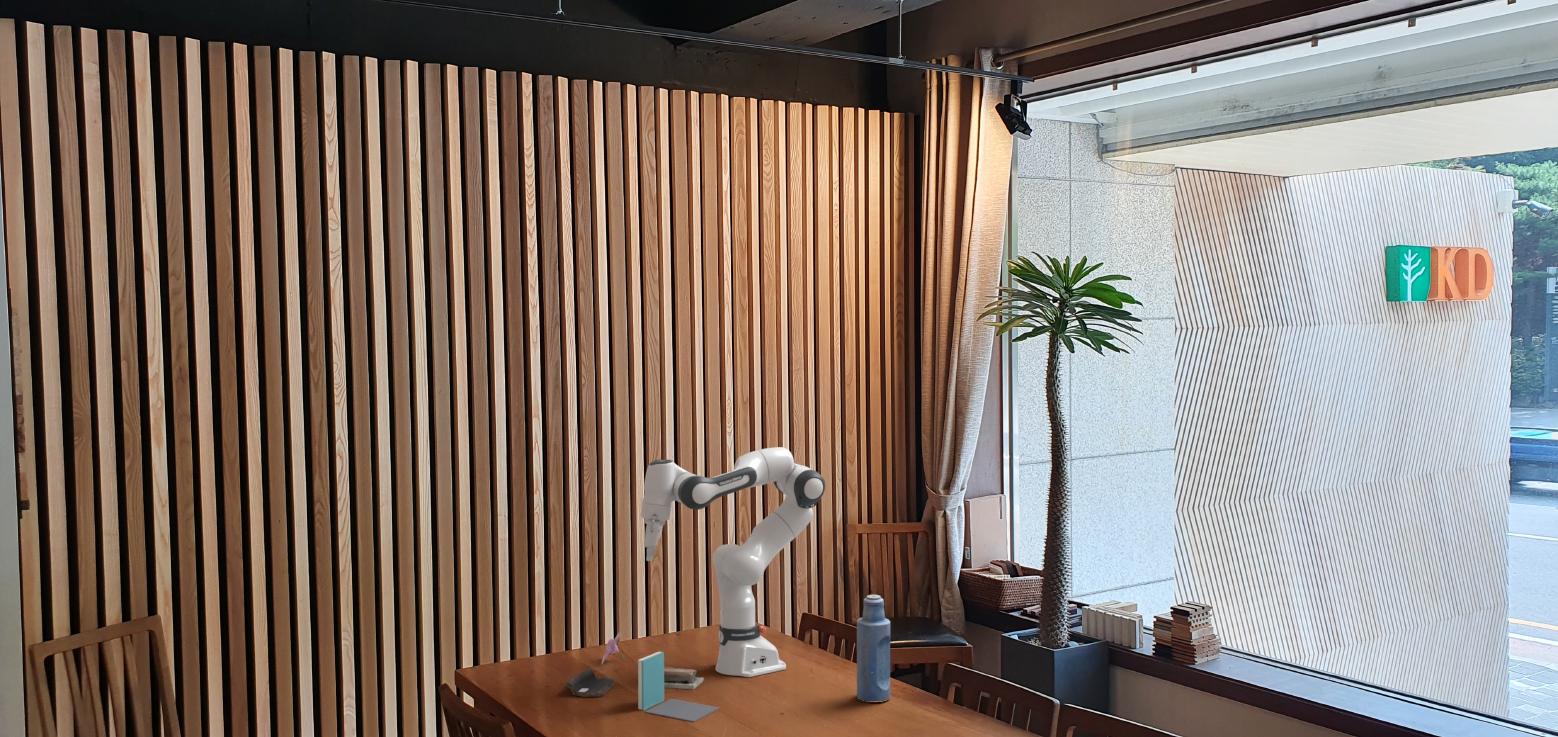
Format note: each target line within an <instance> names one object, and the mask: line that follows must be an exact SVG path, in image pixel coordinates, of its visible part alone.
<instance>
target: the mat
mask: <svg viewBox="0 0 1558 737" xmlns="http://www.w3.org/2000/svg"><path fill="white" fill-rule="evenodd" d="M720 709H721V708H720V707H718V706H713V705H707V704H702V703H697V702H691V701H686V700H681V699H676V698H670V699H668V700H666V701H663V702H661V703H659V704H657V705H656V706H652V707H650V708H648V709H646V710H644V713H646V714H650V715H656V716H661V717H666V718H671V719H676V720H682V721H685V722H686V721H687V722H690V723H695V722H697V721H699V720H701V719H703V718H704V717H707V716H709V715H710V714H713V713H714V712H716V711H718V710H720Z"/></svg>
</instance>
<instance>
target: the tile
mask: <svg viewBox="0 0 1558 737" xmlns="http://www.w3.org/2000/svg"><path fill="white" fill-rule="evenodd" d="M637 665H638V666H637V668H638V669H637V672H638V673H637V675H638V676H637V681H638V683H637V685H638V686H637V689H638V691H637V693H638V694H637V695H638V697H637V698H638V699H637V701H638V702H637V703H638V705H637V706H638V710H640V711H646V710H648V709H650V708H653V707H655V705H656V706H657V705H659V704H661V703H663V702H665V688H664V667H665V652H664V651H657V652H654V653H652V654H650V655H649V654H648V655H647V656H644V657H641V658H640V659H638V660H637Z"/></svg>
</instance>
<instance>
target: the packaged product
mask: <svg viewBox="0 0 1558 737" xmlns="http://www.w3.org/2000/svg"><path fill="white" fill-rule="evenodd" d="M697 673H698V672H697V670H696V669H688V668H679V667H669V666H667V667H666V666H664V689H676V688H678V690H692V689H694V690H695V689H696V688H697V687H699V686H700V685H701V684H702V683H703V681H704V680H705V677H704V676H703V677H698V676H696V675H697Z"/></svg>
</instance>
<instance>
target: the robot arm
mask: <svg viewBox="0 0 1558 737" xmlns="http://www.w3.org/2000/svg"><path fill="white" fill-rule="evenodd" d="M771 483H773V484H774V487H775V488H776V489H777V490H778V491H779V492H780V493H782V494H783V495H785V496H784V497H785V498H784V499H783V501H782V503H781V504H780V506H778V507H777V508H776V509H775V510H773V511H772V512H771V513H770V514H769V515H767V516H766V517H765V518H764V519H762V520H761V521H760V522H759V523H758V524H757V525H755V526H754V528H753V529H752V532H751V534H750V536H749V537H748V538H747V540H746V541H745V542H744V543H743V544H742V545H738V544H735V543H727V544H722V545H720V546H719V547H717V548H716V550H715V551H714V553H713V555H712V564H713V568H714V571H715V575H716V576H715V577H716V583H717V588H718V594H719V605H720V606H719V607H720V613H719V614H720V618H719V619H720V624H719V626H718V640H719V641H718V643H719V649H718V651H719V652H718V658H717V662H716V666H715V671H716V672H717V673H719V674H722V675H726V676H727V675H728V676H738V677H739V676H740V677H744V678H751V677H756V676H761V675H766V674H769V673H775V672H779V671H784V670H786V669H787V664H786V663H785V661H783V660H782V659H780V656H779V651H778V649H777V647H776V646H775V645H774V644H772V643H771V641H769V640H767V639H766V638H764V637H763V636H762V634H766V632H767V628H766V627H765V626H763V625H761V626H760V625H759V624H757V623H756V599H755V597H754V594H753V590H752V586H754V585H756V584H758V583H759V582H760V580H762V579H763V577H764V574H765V573H764V572H765V570H766V568H767V567H768V566H769V565H770V563H771V562H772V560H773V559H774V558H775V557H776V556H777V554H779V553H780V552H781V551H782V550H783V549H784V548H785V547H787V545H788V544H789V543H792V541H793V540H794V539H796V538H797V537H798V536H799V535H800V534H801V533H802V532H803V531H804V530H805V529H806V528H807V526H808V525H809V524H810V523H811V521H812V519H813V518H814V510H813V508H815V506H817V505H818V502H819V501H820V500H821V498H822V497H823V495H824V493H825V491H826V481H825V479H824V478H823V476H822V475H821V474H820V473H819V472H818V471H816V470H814V469H812V468H810V467H808V466H806V465H803V464H802V465H801V464H798V463H795V460H794V457H793V454H792V452H791V451H790V450H789V449H787V448H786V447H783V446H779V447H778V446H776V447H768V448H767V447H766V448H762V449H758V450H754V451H751V452H747V453H745V454H743V455H741V456H738V458H737V459H736V461H735V463H734V467H733V470H731V471H728V472H725V473H722V474H719V475H716V476H712V477H707V476H706V477H705V476H701V475H697V474H694V473H692V472H689V471H687V470H686V469H684V468H682V467H680V466H679V465H677V464H676V463H675V462H674V460H671V459H667V458H666V459H655V460H653V461H651V462H650V463H649V464H648V466H647V468H646V472H645V477H644V484H643V486H644V487H643V489H644V495H643V498H642V500H641V511H640V517H641V519H644V520H643V521H644V522H643V523H644V524H646V526H645V535H644V542H643V546H644V548H646V558H645V559H646V561H647V562H653V559H654V556H655V554H656V550H657V549H656V548H657V546H658V544H659V541H660V538H661V536H662V532H663V528H664V526H665V525H666V521H669V520H671V510H672V503H673V501H674V502H675V501H676V502H678V503H680V504H682V505H684V506H686V508H688V509H689V510H690V509H691V510H695V511H696V510H697V511H698V510H703V509H705V508H707V507H708V506H709V505H710V504H711V503H713V502H714V501H715V500H717V499H719V498H721V497H723V496H724V497H725V496H728V495H730V494H733V493H736V492H739V491H742V490H745V489H750V488H755V487H759V486H764V485H767V484H771Z"/></svg>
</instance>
